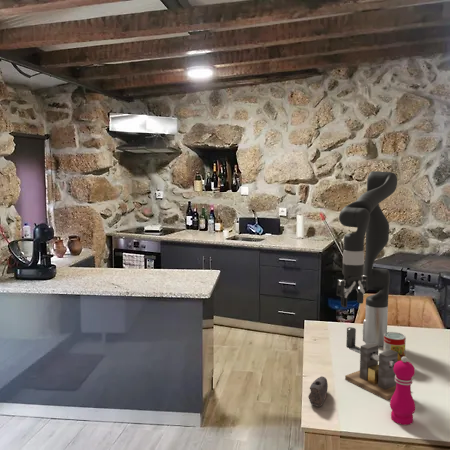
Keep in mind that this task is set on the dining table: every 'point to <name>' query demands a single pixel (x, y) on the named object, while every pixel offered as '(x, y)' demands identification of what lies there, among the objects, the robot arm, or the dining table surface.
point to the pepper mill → (403, 393)
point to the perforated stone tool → (318, 391)
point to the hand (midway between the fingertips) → (352, 305)
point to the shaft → (351, 345)
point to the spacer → (373, 374)
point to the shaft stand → (386, 373)
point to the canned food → (395, 343)
